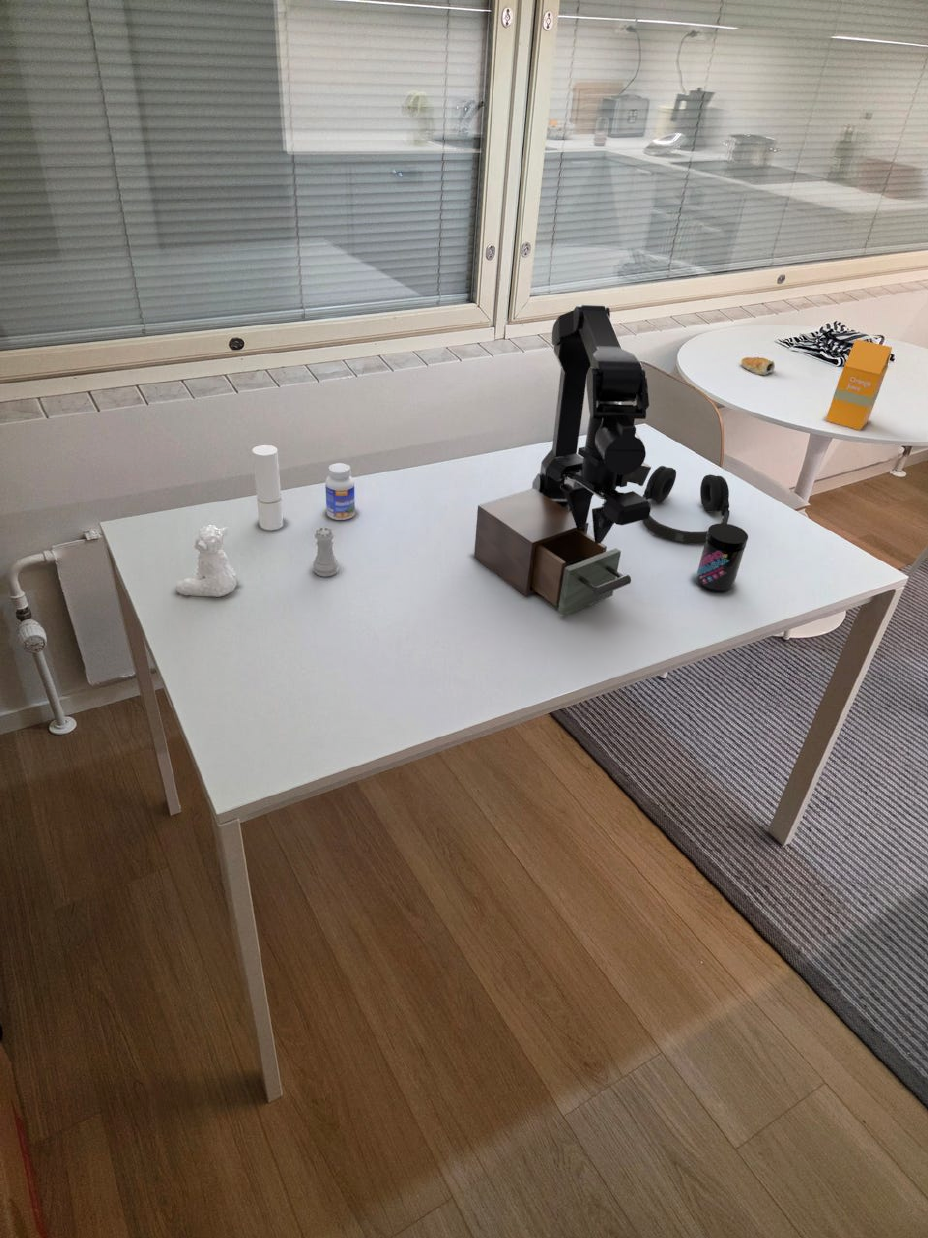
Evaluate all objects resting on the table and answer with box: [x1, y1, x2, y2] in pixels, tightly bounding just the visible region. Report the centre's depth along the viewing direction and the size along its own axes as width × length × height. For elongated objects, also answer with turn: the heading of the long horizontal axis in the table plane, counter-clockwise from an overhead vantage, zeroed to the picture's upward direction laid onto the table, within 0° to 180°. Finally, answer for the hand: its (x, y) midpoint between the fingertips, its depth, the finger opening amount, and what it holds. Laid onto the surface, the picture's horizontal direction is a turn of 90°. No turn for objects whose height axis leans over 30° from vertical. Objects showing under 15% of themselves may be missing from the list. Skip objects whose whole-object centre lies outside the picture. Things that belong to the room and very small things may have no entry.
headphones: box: [641, 465, 730, 545], centre depth 164 cm, size 17×7×20 cm
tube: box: [251, 444, 284, 531], centre depth 150 cm, size 4×4×15 cm
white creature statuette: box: [175, 524, 238, 598], centre depth 134 cm, size 10×9×12 cm
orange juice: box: [825, 338, 893, 431], centre depth 208 cm, size 8×9×20 cm
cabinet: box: [473, 487, 589, 597], centre depth 145 cm, size 15×13×11 cm
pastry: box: [740, 356, 776, 376], centre depth 241 cm, size 9×7×4 cm
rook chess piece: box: [312, 526, 340, 578], centre depth 141 cm, size 4×4×8 cm
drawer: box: [530, 530, 632, 617], centre depth 138 cm, size 18×11×9 cm, turn 36°
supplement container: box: [695, 522, 749, 594], centre depth 144 cm, size 7×7×10 cm
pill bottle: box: [324, 462, 356, 521], centre depth 157 cm, size 5×5×10 cm
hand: (589, 536), depth 132 cm, fingers open, 4 cm apart
